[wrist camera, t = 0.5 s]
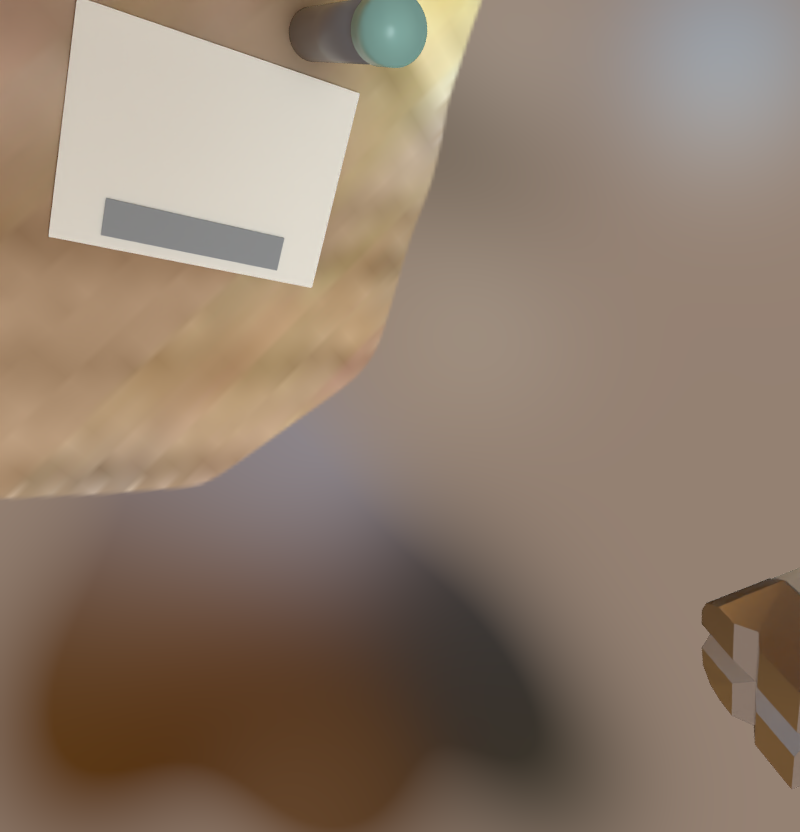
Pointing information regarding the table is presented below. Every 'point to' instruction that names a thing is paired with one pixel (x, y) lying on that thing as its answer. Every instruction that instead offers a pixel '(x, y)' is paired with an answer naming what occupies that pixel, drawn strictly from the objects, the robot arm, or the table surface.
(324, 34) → the marker
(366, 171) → the table surface
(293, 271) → the paper
